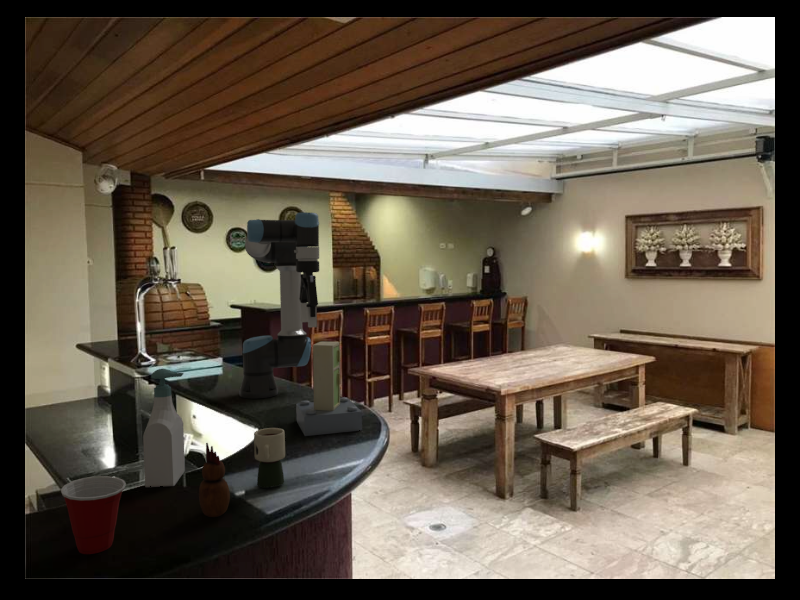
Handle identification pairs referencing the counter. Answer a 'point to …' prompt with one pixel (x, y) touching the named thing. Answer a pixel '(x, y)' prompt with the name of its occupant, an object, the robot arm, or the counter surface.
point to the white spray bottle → (163, 437)
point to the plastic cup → (93, 511)
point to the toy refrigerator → (326, 375)
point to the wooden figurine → (213, 486)
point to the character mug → (269, 456)
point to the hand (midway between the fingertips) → (308, 324)
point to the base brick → (328, 418)
